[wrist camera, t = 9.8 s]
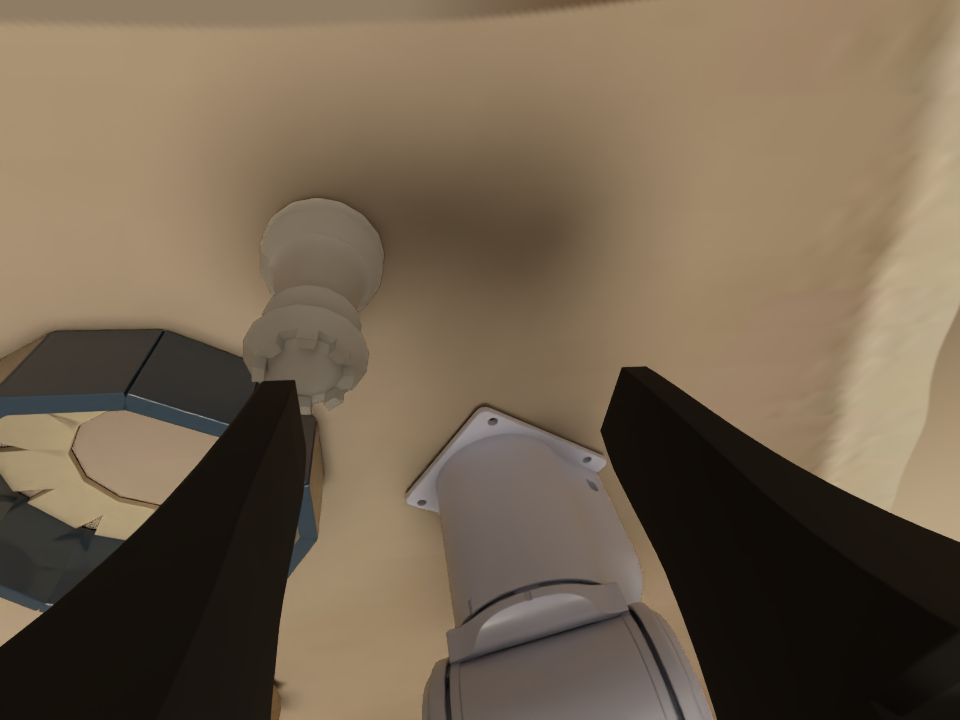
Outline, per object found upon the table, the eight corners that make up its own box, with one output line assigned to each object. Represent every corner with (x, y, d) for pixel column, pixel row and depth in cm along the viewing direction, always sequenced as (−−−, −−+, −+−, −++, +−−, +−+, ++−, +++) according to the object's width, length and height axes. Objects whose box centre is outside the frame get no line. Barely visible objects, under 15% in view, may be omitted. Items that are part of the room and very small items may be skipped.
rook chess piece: (251, 281, 19) (193, 422, 13) (278, 173, 17) (225, 277, 11) (363, 314, 21) (361, 452, 14) (400, 220, 19) (416, 333, 12)
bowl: (372, 406, 24) (373, 468, 21) (257, 567, 30) (244, 635, 26) (-3, 266, 17) (-89, 327, 14) (-57, 512, 23) (-125, 594, 20)
